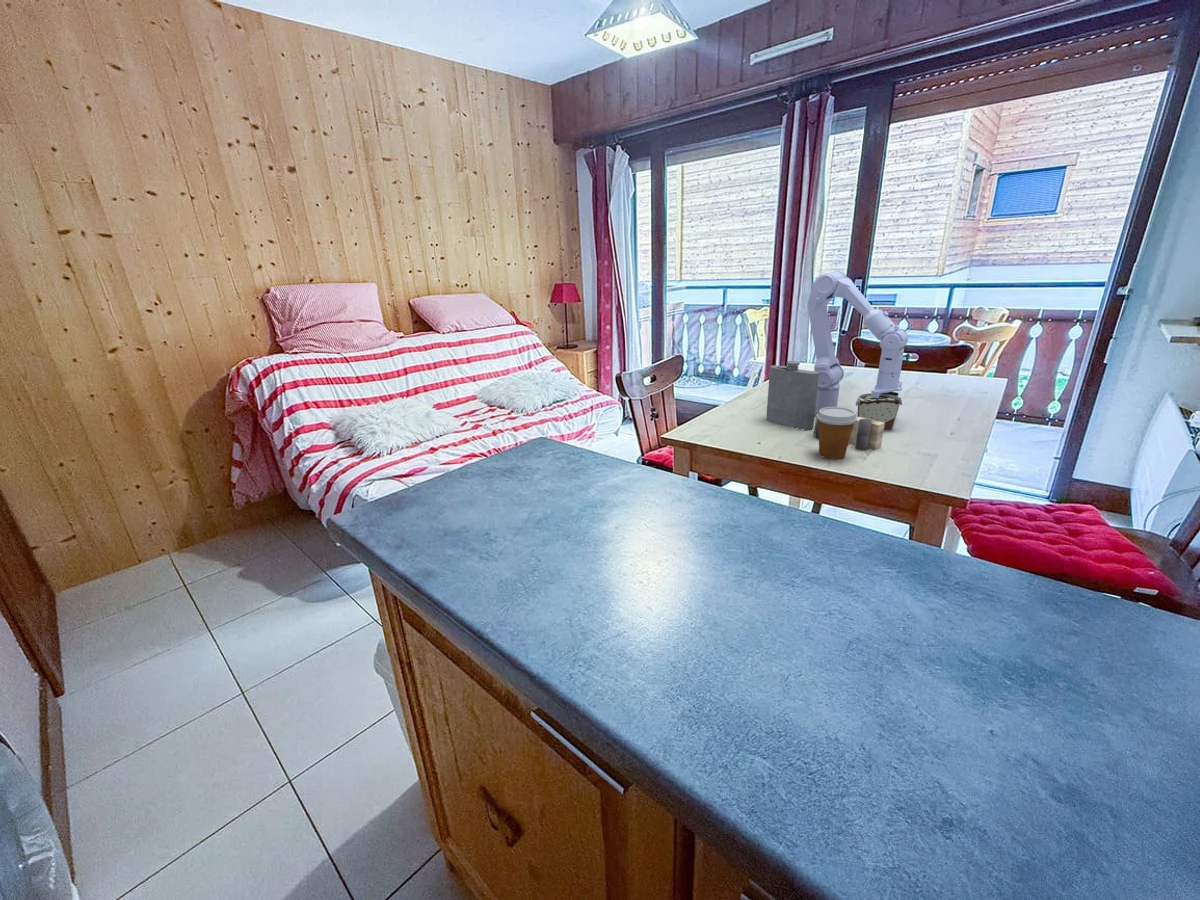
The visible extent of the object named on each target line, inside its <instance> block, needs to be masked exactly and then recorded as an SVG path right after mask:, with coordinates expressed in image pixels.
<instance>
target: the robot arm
mask: <svg viewBox="0 0 1200 900" xmlns="http://www.w3.org/2000/svg"><path fill="white" fill-rule="evenodd" d="M834 297H835V298H839V299H840V298H841V299H845V300H846V301H848V303H849V304H850V305H851V306H852V307H853V308H854V309H855V310H856V311H857V312H858V313H859V314H860V315H861V316H862V317H863V324H864V326H865V327H866V328H867V330H869V332H871V334H872V335H873V336H874V337H875V338H876V339H877V340H878V341H879V347H880V349H881V354H880V357H879V358H880V359H879V365H878V366H879V367H878V373H877V378H876V385H875V387H874V388H873V390H871V397H874V398H879V396H881V395H882V394H889V395H894V396H897V397H899V394H900V393H898V392H902V390H903V387H902V384H903V382H901V381H900V377H901V371H902V366H903V365H902V364H903V360H904V351H905V346H907V344H908V342H909V335H908V333H907V331H906V330H905V329H903V328H900V326H899V324H895V323H894V321H893V320H891V319H890V317H889V316H888V315H890V314H889V312H888V311H885V310H884V311H883V310H882V309H876V308H875V307H873V306H872V304H871V303H870V302H869V301H868V300H867V298H866V297H865V296H864V295H863V293H862V292H861V291H860V290H859V288H858V287H857V286H856V284H854V282H853V281H852V279H851V278H849V277H847V275H846V273H844V272H842V271H840V270H839V271H838V270H837V271H833V272H826V273H821V274H820V275H819V276H817V278H816V279H815V280H814V281H813V283H812V284H811V291H810V294H809V297H808V300H807V304H806V305H807V312H808V316H809V322H810V328H811V334H812V339H813V346H814V351H815V356H816V361H815V362H814V363H815V364H814V366H813V369H814V370H813V371H816V372H819V380H818V389H817V399H816V408H815V416H816V411H818V410H820V409H822V408H826V407H838V402H839V396H840V395H839V394H840V382H841V381H842V380H843V379H844V376H845V373H844V368H843V367H842V366H841V364H840V360H839V358H838V357H837V356H836V355H835V348H834V344H833V335H832V332H831V331H832V330H831V325H830V319H829V313H828V308H827V307H828V305H829V303H830V302H831V301H832V299H833V298H834Z"/></svg>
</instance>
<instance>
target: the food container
mask: <svg viewBox="0 0 1200 900" xmlns="http://www.w3.org/2000/svg"><path fill="white" fill-rule="evenodd" d="M902 405H903V400H902V397H899V396H894V395H889V394H882V395H881V396H879V398H874V397H871V393H865V394H863V393H862V394H860V395H858V398H857V399H856V402H855V406H856V407H857V417H862V418H866V419H871V420H875V421H880V422H885V425H884V431H883V432H893V428H894V425H895V422H896V419H897V415H898V411H899V410H900V409H899V408H900V406H902Z"/></svg>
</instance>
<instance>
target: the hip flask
mask: <svg viewBox="0 0 1200 900" xmlns="http://www.w3.org/2000/svg"><path fill="white" fill-rule="evenodd" d="M800 363H801V362H800V361H798V360H788V361H787V362H786V365H775V364H773V365H770V366H769V372H768V373H769V375H768V376H769V377H768V387H767V389H768V391H767V402H766V403H767V404H766V405H767V406H766V415H765V416H766V421H767V422H771V423H773V424H775V425H776V424H777V425H779V424H780V426H783V425H784V427H787V426H788V428H791V427H793V428H792V429H796V428H798V429H797V430H801V429H804V430H803V431H807V430H811V431H813V430H814V428H815V418H816V415H815V408H816V399H817V389H818V380H819V372H816V371H815V370H805V369H799V366H800ZM812 429H813V430H812Z"/></svg>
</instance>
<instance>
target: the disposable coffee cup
mask: <svg viewBox="0 0 1200 900" xmlns="http://www.w3.org/2000/svg"><path fill="white" fill-rule="evenodd" d="M856 416H857V413H856V411H855V410H853V409H850V408H846V407H840V406H837V407H826V408H822V409H820V410H819V413H818V414H817V418H818V428H819V429H818V430H819V439H818V454H819V456H821V457H822V456H823V458H825V457H826V459H829V458H830V459H831V460H840V458H841V459H844V458H845V457H846V453H847V450H848V446H849V444H850V443H849V440H850V436H851V433H852V429H853V426H854V423H855V421H856V420H857V417H858V416H857V417H856Z"/></svg>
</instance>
